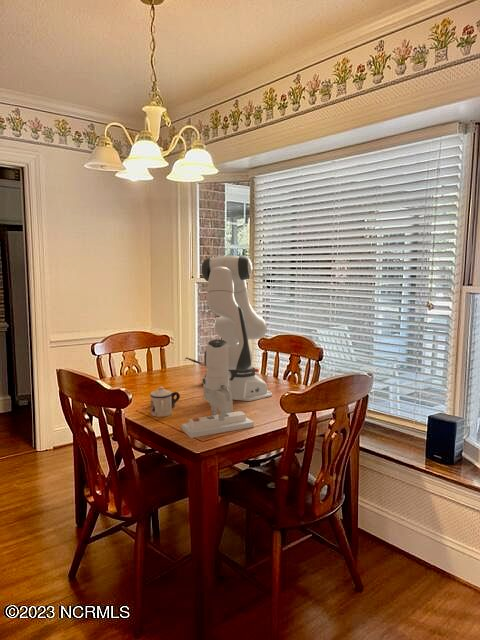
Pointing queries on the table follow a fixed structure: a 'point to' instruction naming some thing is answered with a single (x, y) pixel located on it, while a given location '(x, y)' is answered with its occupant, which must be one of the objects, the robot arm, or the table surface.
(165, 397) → the teacup with lid
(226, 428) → the plate
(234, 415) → the power strip
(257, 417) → the table surface
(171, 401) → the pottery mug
